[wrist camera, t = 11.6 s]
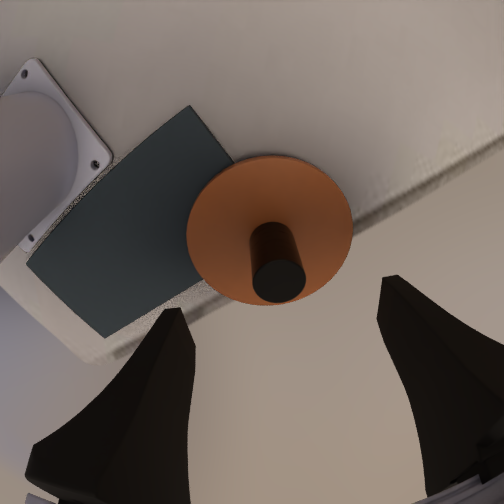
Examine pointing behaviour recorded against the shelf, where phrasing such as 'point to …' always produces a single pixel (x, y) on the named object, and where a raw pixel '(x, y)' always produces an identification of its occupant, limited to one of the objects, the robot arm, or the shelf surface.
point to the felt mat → (133, 229)
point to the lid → (269, 230)
